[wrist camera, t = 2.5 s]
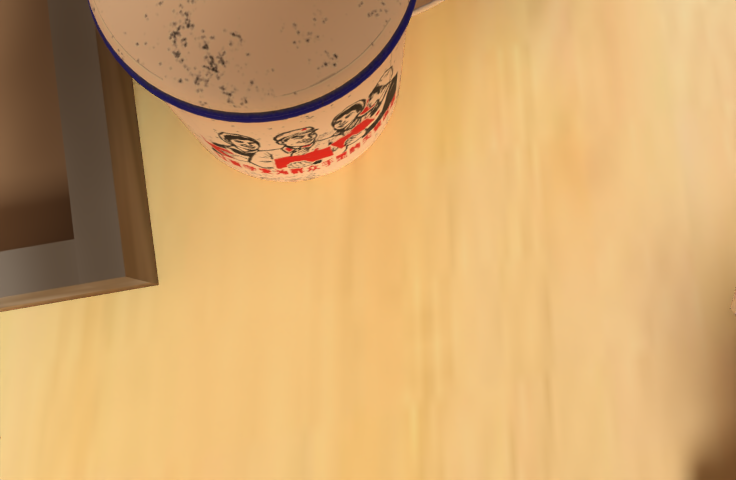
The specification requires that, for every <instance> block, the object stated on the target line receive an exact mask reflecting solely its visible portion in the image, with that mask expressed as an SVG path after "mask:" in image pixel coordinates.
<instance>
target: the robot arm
mask: <svg viewBox="0 0 736 480" xmlns="http://www.w3.org/2000/svg"><path fill="white" fill-rule="evenodd" d="M730 309H731V310H732V311H733V312H734V314H735V315H736V289H735V293H734V297H733V301H732V304H731V308H730ZM0 438H1V437H0Z"/></svg>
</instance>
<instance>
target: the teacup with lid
mask: <svg viewBox="0 0 736 480" xmlns="http://www.w3.org/2000/svg"><path fill="white" fill-rule="evenodd" d="M443 1H445V0H88V4H89V7H90V11H91V14H92V17H93V20H94V22H95V25H96V27H97V29H98V32H99V33H100V35H101V37H102V39H103V41H104V43H105V44H106V46H107V48H108V49H109V51H110V52H111V53H112V55H113V56H114V58H115V59H116V60H117V61H118V63H119V64H120V65H121V66H122V67H123V68H124V70H125V71H126V72H127V73H128V74H129V75H130V76H131V77H132V78H134V79H135V80H136V81H137V82H138V83H139V84H140V85H142V86H143V87H144V88H145V89H147V90H148V91H149V92H151V93H152V94H154V95H155V96H157V97H159V98H160V99H162V100H164V101H165V103H166V104H167V105H168V106H169V107H170V108H171V109H172V111H173V112H174V113H175V114H176V115H177V116H178V117H179V119H180V120H181V121H182V122H183V123H184V124H185V125H186V127H187V128H188V129H189V130H190V131H191V132H192V133H193V135H194V136H195V137H196V138H197V139H198V140H199V141H200V143H201V144H202V145H203V146H204V147H205V148H206V149H207V150H208V151H209V152H210V153H211V154H212V155H213V156H215V157H216V158H217V159H219V160H220V161H221V162H223V163H225V164H226V165H228V166H229V167H231V168H233V169H235V170H237V171H239V172H241V173H244V174H247V175H249V176H252V177H256V178H260V179H264V180H270V181H280V182H294V181H303V180H309V179H314V178H318V177H321V176H324V175H327V174H330V173H332V172H334V171H337V170H339V169H341V168H342V167H344V166H346V165H348V164H349V163H351V162H352V161H354V160H355V159H357V158H358V157H359V156H360V155H361V154H363V153H364V152H365V151H366V150H367V149H368V148H369V147H370V146H371V145H372V144H373V143H374V142H375V140H376V139H377V138H378V137H379V135H380V134H381V132H382V131H383V129H384V128H385V126H386V125H387V123H388V121H389V119H390V117H391V115H392V112H393V110H394V107H395V105H396V101H397V97H398V93H399V87H400V80H401V71H402V62H403V53H404V44H405V35H406V27H407V25H408V23H409V20H410V18H411V17H413V16H415V15H417V14H420V13H422V12H424V11H426V10H428V9H430V8H432V7H434V6H436V5H438V4H440V3H441V2H443Z"/></svg>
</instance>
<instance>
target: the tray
mask: <svg viewBox="0 0 736 480" xmlns="http://www.w3.org/2000/svg"><path fill="white" fill-rule="evenodd" d="M154 285H158V277H157V270H156V262H155V254H154V246H153V239H152V231H151V223H150V216H149V208H148V200H147V192H146V185H145V177H144V169H143V161H142V154H141V146H140V138H139V130H138V123H137V115H136V107H135V100H134V92H133V84H132V77H131V76H130V75H129V74H128V73H127V72H126V71H125V70H124V68H123V67H122V66H121V65H120V64H119V63H118V61H117V60H116V59H115V58H114V56H113V55H112V53H111V52H110V51H109V49H108V48H107V46H106V44H105V43H104V41H103V39H102V37H101V35H100V33H99V32H98V29H97V27H96V25H95V22H94V20H93V17H92V14H91V11H90V7H89V4H88V0H0V312H2V311H8V310H14V309H20V308H26V307H32V306H37V305H43V304H49V303H55V302H61V301H67V300H73V299H78V298H84V297H90V296H96V295H102V294H108V293H113V292H119V291H125V290H131V289H137V288H143V287H149V286H154Z"/></svg>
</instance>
